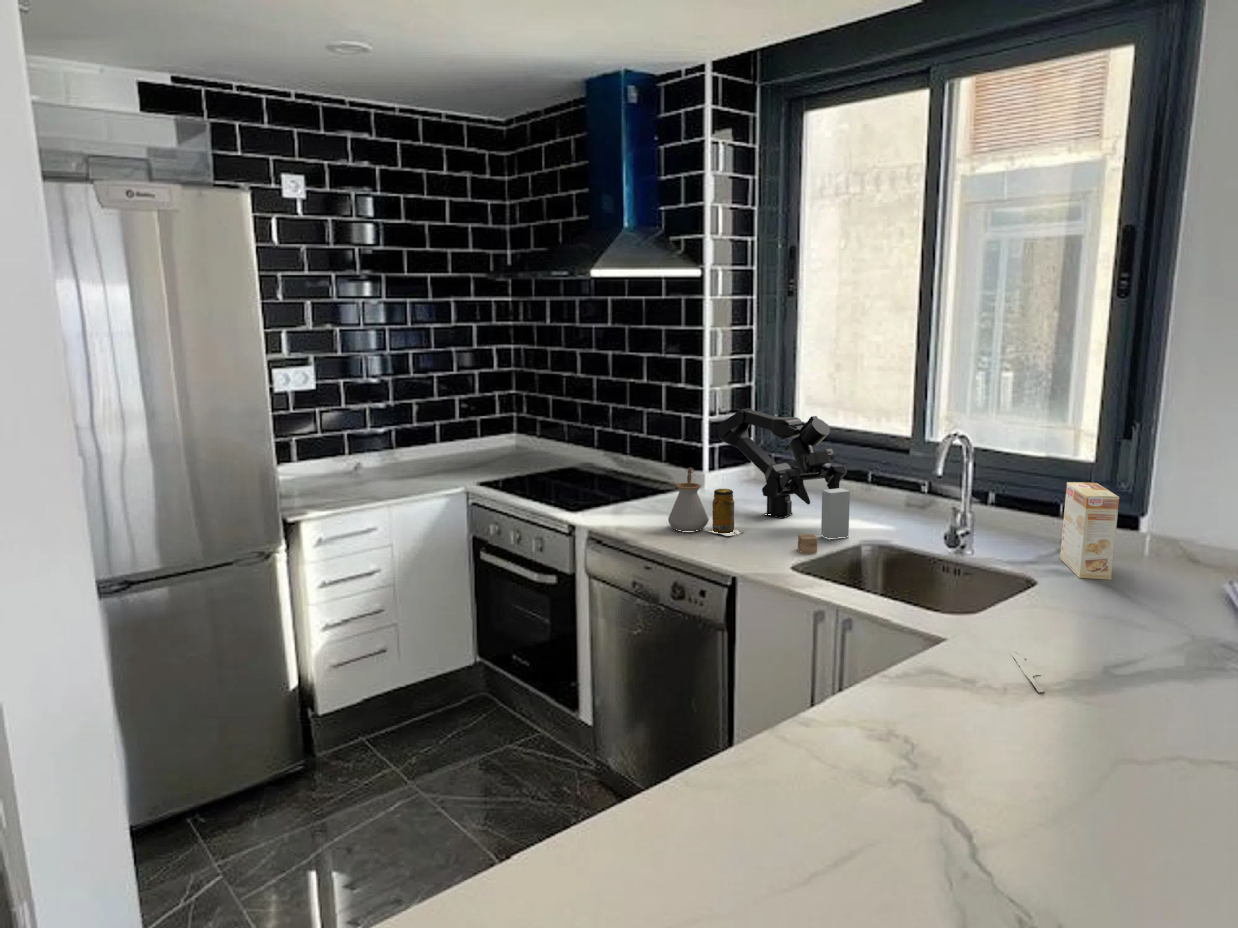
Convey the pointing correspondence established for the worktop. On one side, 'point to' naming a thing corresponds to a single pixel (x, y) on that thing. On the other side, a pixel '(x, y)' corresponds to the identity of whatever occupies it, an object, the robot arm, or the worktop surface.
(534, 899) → the worktop surface
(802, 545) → the walnut cube
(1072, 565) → the coffeecake box
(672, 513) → the coffee pot
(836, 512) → the block
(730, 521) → the condiment
